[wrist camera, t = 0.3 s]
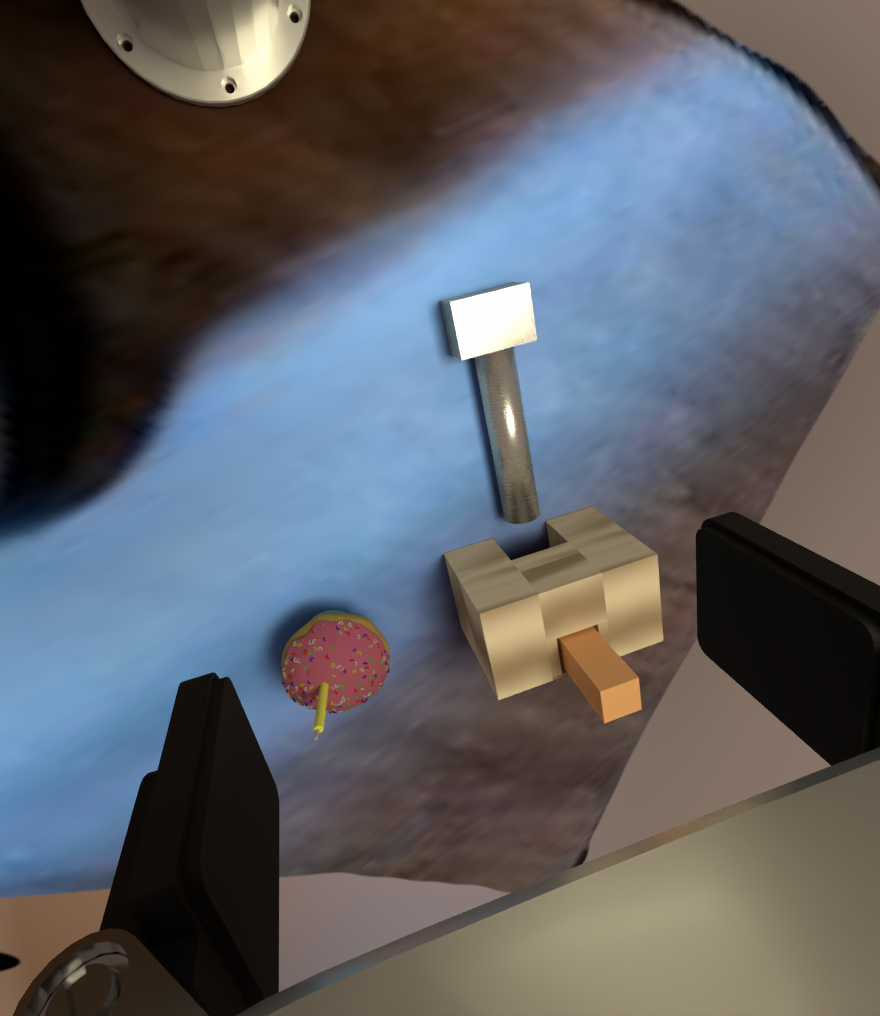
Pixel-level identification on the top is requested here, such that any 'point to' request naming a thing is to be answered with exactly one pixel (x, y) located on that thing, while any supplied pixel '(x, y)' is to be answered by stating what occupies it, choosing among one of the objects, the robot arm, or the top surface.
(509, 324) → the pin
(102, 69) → the top surface
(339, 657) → the cupcake
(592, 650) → the plunger
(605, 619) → the block
